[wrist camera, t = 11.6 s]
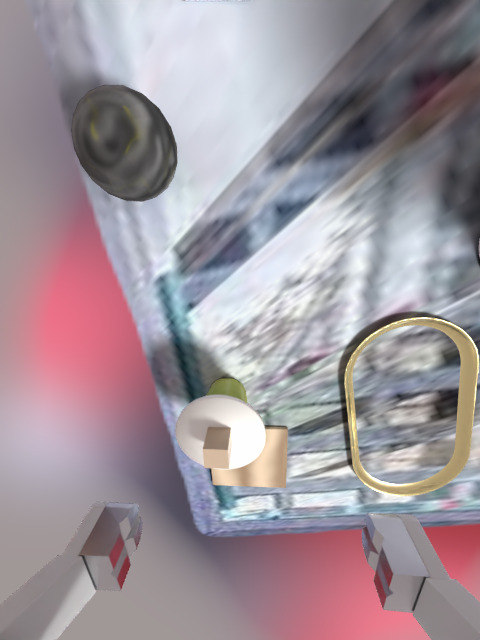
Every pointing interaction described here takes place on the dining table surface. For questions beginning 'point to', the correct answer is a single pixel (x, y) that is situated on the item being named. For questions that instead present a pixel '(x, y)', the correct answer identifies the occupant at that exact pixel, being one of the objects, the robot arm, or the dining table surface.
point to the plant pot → (228, 389)
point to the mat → (260, 464)
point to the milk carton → (217, 0)
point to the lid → (220, 432)
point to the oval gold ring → (463, 415)
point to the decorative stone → (124, 143)
